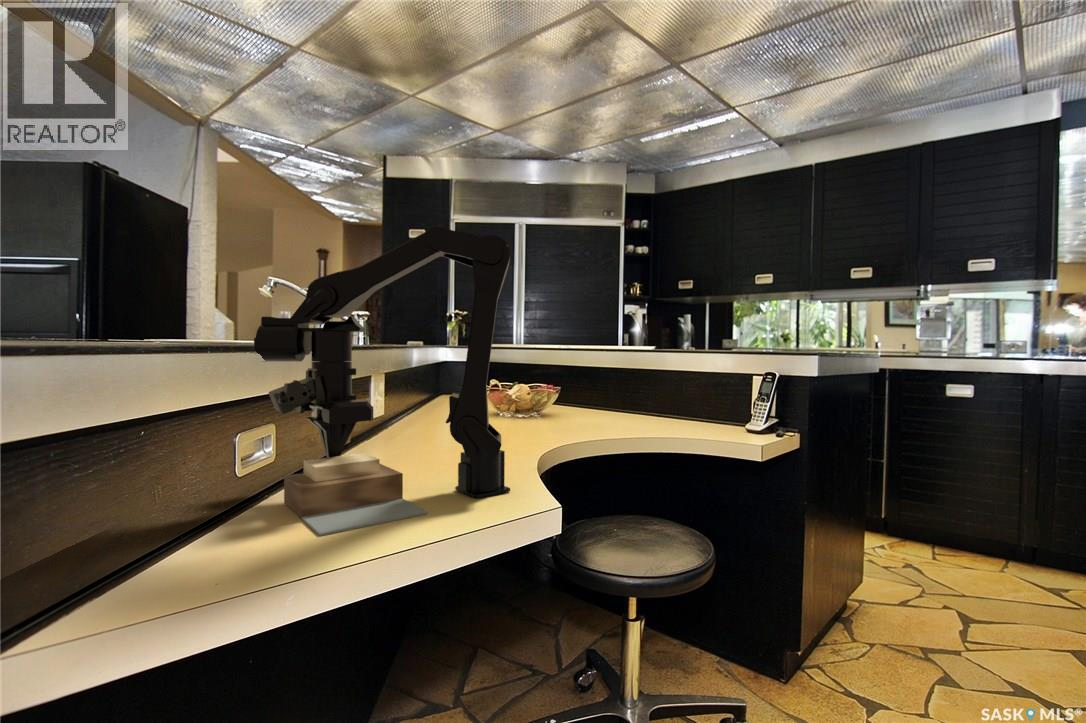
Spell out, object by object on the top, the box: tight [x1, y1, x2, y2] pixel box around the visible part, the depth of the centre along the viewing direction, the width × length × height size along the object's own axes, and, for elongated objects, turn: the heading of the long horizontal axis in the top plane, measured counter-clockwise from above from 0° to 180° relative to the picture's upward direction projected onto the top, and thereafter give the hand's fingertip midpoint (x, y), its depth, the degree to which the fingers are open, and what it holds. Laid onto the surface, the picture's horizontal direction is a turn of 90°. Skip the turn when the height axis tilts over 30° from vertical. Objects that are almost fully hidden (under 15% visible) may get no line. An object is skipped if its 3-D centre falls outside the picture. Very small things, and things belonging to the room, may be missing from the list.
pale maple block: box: [303, 452, 381, 482], centre depth 77 cm, size 9×6×2 cm, turn 129°
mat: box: [300, 498, 428, 537], centre depth 70 cm, size 14×8×1 cm, turn 129°
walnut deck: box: [283, 463, 404, 519], centre depth 77 cm, size 14×9×4 cm, turn 129°
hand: (332, 463), depth 81 cm, fingers closed
